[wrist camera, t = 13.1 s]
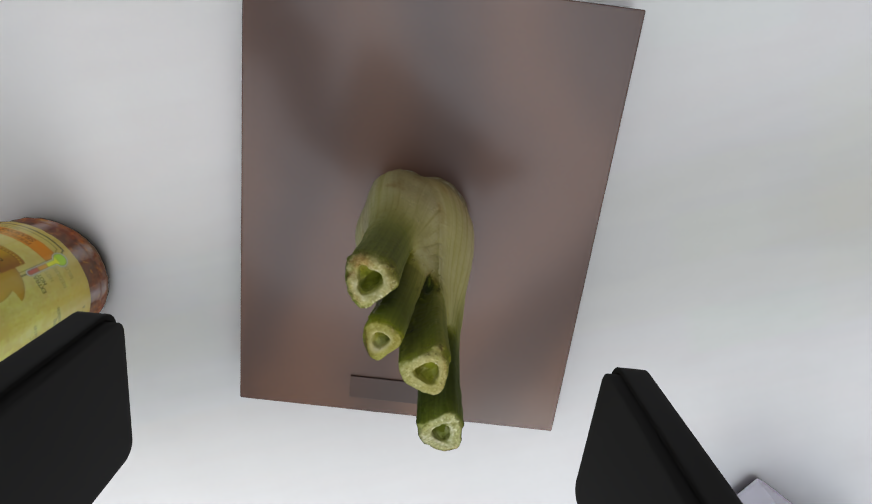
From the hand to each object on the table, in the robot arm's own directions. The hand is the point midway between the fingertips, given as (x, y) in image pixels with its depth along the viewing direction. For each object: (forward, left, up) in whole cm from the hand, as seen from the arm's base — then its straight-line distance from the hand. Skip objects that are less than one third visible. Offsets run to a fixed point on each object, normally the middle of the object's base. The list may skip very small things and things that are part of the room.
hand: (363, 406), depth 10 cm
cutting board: (+1, 0, -16) cm, 16 cm away
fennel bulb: (0, 0, -14) cm, 14 cm away
